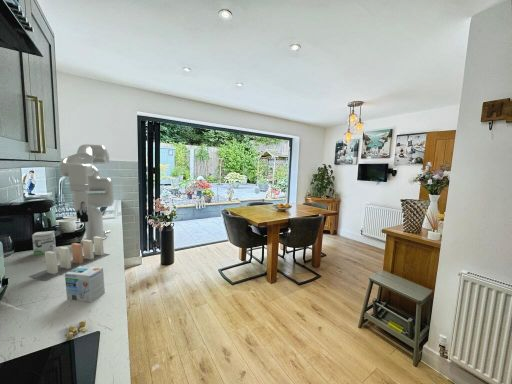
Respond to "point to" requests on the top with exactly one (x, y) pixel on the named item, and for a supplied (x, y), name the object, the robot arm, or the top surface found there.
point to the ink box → (43, 242)
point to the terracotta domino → (77, 253)
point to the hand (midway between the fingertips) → (82, 220)
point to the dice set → (75, 330)
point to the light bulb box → (84, 283)
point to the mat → (47, 276)
